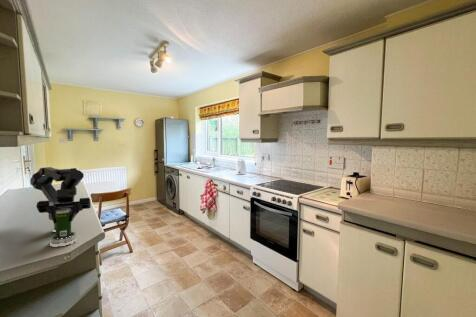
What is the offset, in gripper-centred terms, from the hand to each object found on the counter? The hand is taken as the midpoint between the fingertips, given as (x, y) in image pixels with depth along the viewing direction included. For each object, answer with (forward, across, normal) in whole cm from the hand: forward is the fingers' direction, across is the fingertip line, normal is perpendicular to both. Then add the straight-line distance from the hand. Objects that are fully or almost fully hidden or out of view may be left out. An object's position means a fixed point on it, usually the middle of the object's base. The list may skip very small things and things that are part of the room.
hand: (62, 222), depth 94 cm
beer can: (+4, 0, +6) cm, 7 cm away
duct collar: (+6, 0, +8) cm, 10 cm away
